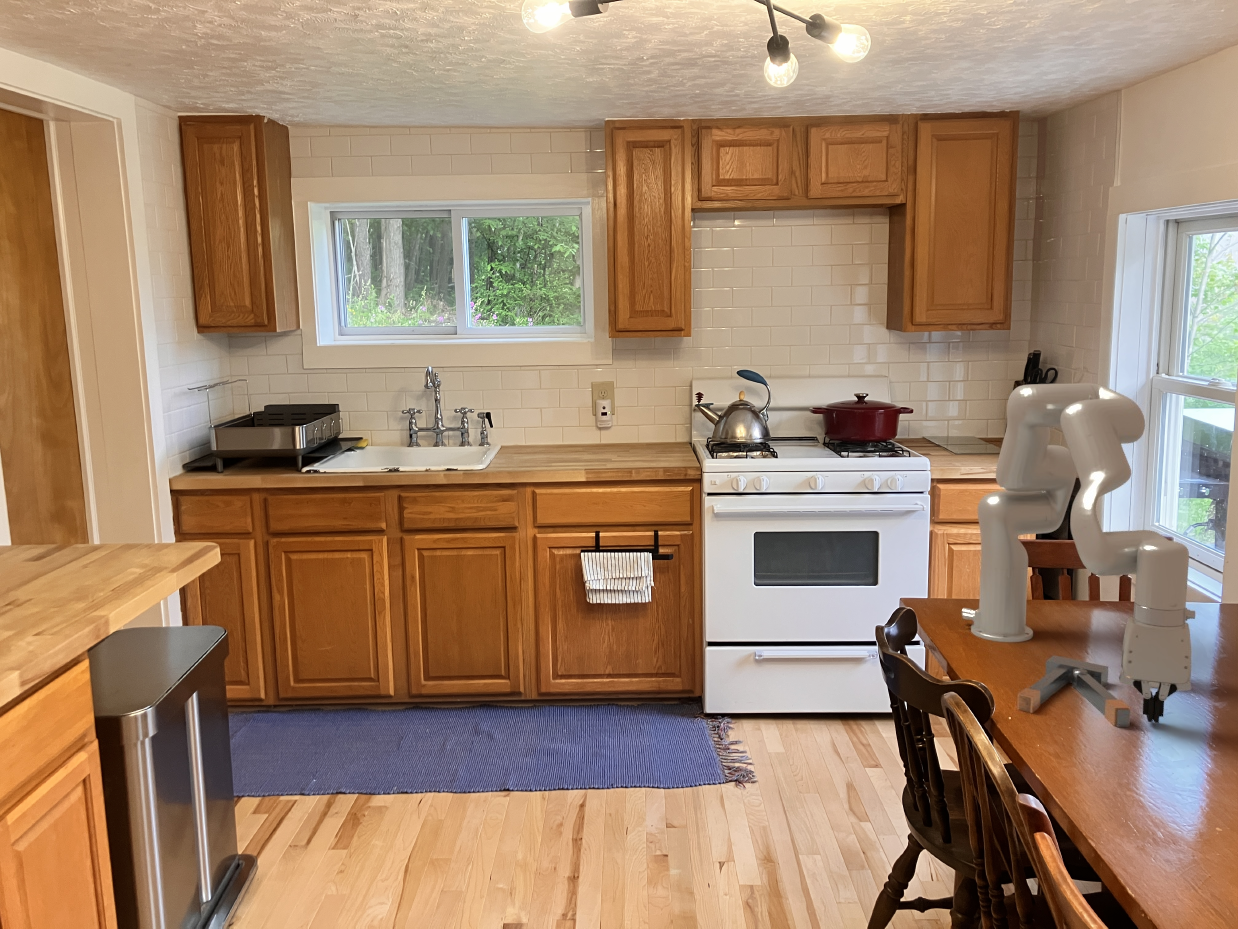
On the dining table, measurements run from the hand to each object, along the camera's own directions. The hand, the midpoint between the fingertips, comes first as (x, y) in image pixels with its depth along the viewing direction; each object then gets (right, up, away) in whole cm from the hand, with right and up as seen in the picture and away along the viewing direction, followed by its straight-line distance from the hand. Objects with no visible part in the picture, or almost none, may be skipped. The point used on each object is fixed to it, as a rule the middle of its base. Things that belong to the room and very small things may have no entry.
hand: (1152, 719), depth 170 cm
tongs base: (-10, +1, +14) cm, 17 cm away
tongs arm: (-5, 0, +9) cm, 10 cm away
